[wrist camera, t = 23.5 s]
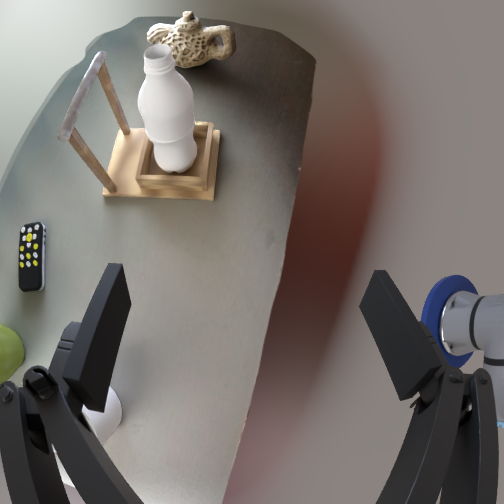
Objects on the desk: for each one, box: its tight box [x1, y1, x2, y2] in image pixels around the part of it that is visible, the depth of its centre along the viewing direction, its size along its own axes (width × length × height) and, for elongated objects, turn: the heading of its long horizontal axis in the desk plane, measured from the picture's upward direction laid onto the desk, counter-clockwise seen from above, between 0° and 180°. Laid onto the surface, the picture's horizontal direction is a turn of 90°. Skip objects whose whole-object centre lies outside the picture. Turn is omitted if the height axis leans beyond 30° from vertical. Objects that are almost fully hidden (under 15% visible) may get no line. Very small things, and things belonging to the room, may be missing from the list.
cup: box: [52, 386, 122, 452], centre depth 32 cm, size 12×12×12 cm
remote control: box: [19, 222, 46, 292], centre depth 40 cm, size 6×13×2 cm, turn 7°
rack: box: [57, 51, 220, 201], centre depth 37 cm, size 20×15×21 cm
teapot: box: [147, 11, 236, 68], centre depth 45 cm, size 21×12×15 cm, turn 70°
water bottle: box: [138, 44, 197, 173], centre depth 34 cm, size 7×7×25 cm
